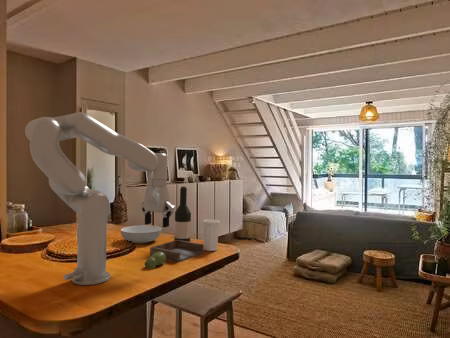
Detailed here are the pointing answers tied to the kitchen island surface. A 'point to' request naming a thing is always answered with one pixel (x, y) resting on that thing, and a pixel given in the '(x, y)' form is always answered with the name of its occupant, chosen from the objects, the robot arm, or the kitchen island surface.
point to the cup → (211, 234)
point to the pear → (155, 260)
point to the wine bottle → (182, 218)
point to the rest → (178, 250)
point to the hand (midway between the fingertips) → (156, 225)
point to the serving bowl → (141, 233)
